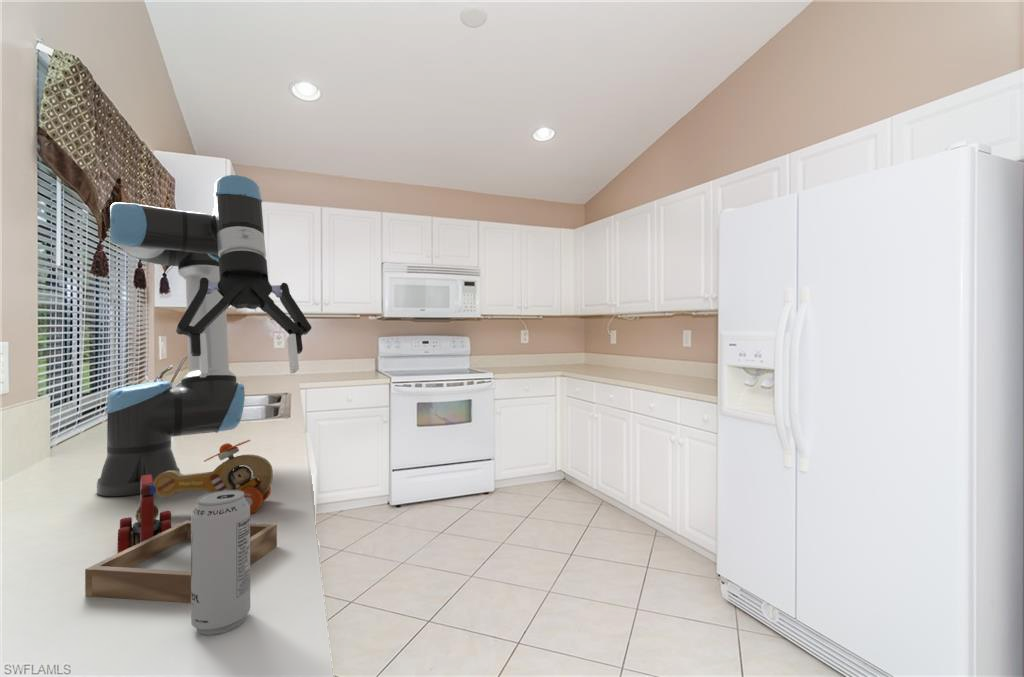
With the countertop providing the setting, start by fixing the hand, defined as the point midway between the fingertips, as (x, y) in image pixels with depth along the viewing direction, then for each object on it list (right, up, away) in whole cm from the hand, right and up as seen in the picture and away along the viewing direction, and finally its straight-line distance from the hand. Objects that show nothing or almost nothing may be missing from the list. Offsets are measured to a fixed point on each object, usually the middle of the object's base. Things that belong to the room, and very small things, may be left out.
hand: (251, 373), depth 81 cm
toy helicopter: (-14, -28, +14) cm, 34 cm away
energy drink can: (+9, -28, -24) cm, 38 cm away
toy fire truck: (-17, -28, -2) cm, 33 cm away
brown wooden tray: (-3, -28, -10) cm, 30 cm away
